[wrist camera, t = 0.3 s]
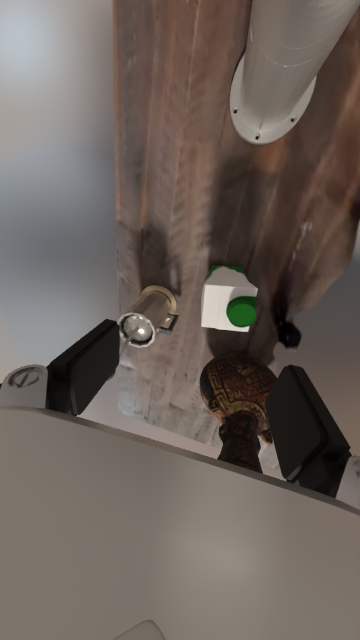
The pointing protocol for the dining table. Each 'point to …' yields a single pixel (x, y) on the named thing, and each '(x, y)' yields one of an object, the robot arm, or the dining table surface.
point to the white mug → (150, 316)
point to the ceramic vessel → (239, 405)
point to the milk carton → (228, 299)
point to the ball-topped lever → (135, 332)
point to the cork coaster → (164, 290)
